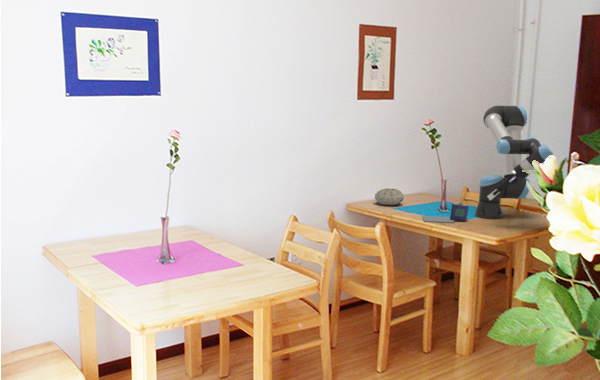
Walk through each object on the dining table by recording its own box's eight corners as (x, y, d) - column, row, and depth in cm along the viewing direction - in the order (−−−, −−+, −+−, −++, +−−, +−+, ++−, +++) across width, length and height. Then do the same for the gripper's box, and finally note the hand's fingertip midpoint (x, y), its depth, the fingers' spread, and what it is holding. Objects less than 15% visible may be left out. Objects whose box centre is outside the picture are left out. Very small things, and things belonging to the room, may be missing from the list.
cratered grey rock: (369, 202, 368) (370, 187, 366) (393, 201, 374) (394, 185, 373) (384, 208, 351) (384, 191, 350) (409, 206, 358) (410, 190, 357)
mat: (451, 218, 326) (451, 217, 326) (454, 223, 313) (454, 222, 313) (422, 216, 328) (422, 215, 328) (424, 221, 315) (424, 220, 315)
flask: (466, 220, 320) (468, 201, 318) (467, 221, 317) (470, 202, 316) (449, 218, 320) (452, 199, 319) (450, 220, 318) (453, 200, 316)
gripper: (528, 176, 293) (491, 205, 303) (530, 173, 304) (495, 201, 314) (517, 165, 294) (481, 194, 304) (520, 162, 306) (486, 191, 316)
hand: (488, 198), depth 309 cm, fingers closed
